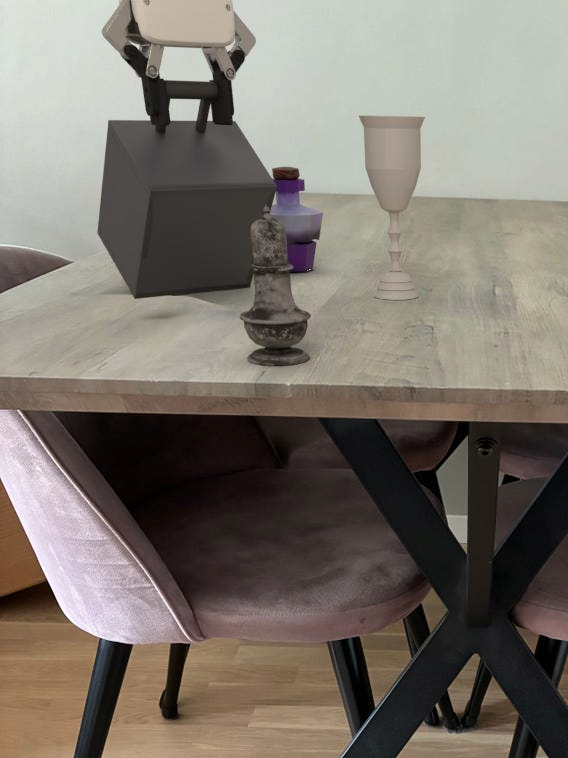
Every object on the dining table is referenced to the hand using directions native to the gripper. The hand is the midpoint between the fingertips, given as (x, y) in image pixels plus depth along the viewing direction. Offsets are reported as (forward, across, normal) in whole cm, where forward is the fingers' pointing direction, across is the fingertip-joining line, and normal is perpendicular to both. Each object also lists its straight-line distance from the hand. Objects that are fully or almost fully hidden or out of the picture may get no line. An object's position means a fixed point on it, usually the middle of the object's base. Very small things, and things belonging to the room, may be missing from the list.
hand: (192, 122), depth 97 cm
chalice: (+17, -18, +10) cm, 27 cm away
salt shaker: (+17, +8, +29) cm, 34 cm away
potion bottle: (+17, -18, -13) cm, 28 cm away
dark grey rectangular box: (+9, 0, +1) cm, 9 cm away
